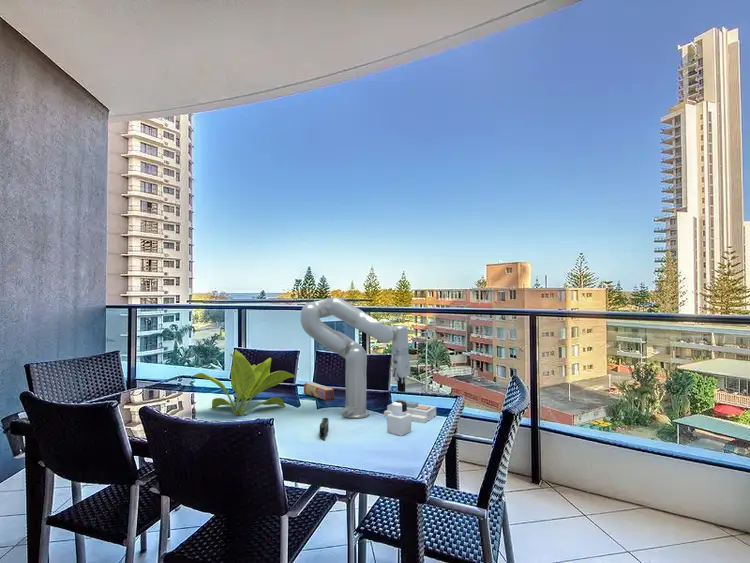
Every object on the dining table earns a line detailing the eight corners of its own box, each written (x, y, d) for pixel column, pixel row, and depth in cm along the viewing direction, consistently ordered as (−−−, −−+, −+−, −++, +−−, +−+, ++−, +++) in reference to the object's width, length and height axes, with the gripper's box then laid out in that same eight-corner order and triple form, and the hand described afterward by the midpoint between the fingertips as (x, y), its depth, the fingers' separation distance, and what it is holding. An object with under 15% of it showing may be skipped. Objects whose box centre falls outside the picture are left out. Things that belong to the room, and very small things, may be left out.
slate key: (413, 409, 183) (413, 404, 183) (405, 407, 185) (405, 403, 185) (418, 406, 187) (418, 402, 187) (409, 405, 189) (409, 401, 189)
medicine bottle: (397, 427, 168) (397, 398, 168) (411, 431, 164) (411, 401, 164) (386, 432, 163) (386, 402, 163) (401, 436, 158) (401, 405, 158)
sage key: (402, 407, 186) (402, 402, 186) (393, 405, 188) (393, 401, 188) (406, 404, 190) (406, 400, 190) (398, 403, 192) (398, 399, 192)
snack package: (335, 399, 213) (335, 386, 213) (324, 402, 209) (325, 388, 209) (313, 392, 229) (313, 380, 229) (302, 394, 224) (302, 382, 225)
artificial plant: (299, 427, 188) (312, 367, 206) (233, 391, 159) (255, 325, 176) (233, 431, 206) (250, 376, 224) (164, 399, 177) (190, 339, 195)
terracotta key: (425, 414, 180) (425, 409, 180) (417, 412, 182) (416, 408, 182) (430, 411, 183) (430, 407, 183) (421, 410, 186) (421, 405, 186)
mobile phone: (321, 416, 168) (318, 427, 153) (328, 416, 168) (326, 427, 153) (321, 428, 168) (318, 441, 153) (328, 428, 168) (326, 440, 153)
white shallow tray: (424, 423, 174) (424, 413, 174) (383, 415, 184) (383, 407, 184) (436, 415, 185) (436, 406, 185) (397, 409, 195) (397, 400, 195)
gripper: (399, 354, 181) (401, 396, 181) (414, 350, 194) (415, 388, 194) (385, 353, 185) (386, 394, 185) (400, 349, 198) (402, 387, 198)
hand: (401, 391), depth 189 cm, fingers closed
